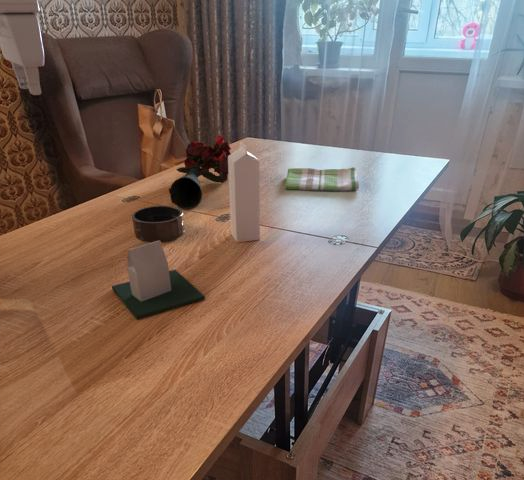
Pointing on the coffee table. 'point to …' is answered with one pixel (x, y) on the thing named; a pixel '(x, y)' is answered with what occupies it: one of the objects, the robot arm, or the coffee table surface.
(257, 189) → the milk
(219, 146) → the black vase with roses
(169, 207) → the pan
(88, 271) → the coffee table surface
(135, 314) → the mat
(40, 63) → the robot arm
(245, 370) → the coffee table surface
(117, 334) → the coffee table surface
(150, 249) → the white box
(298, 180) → the dish towel
